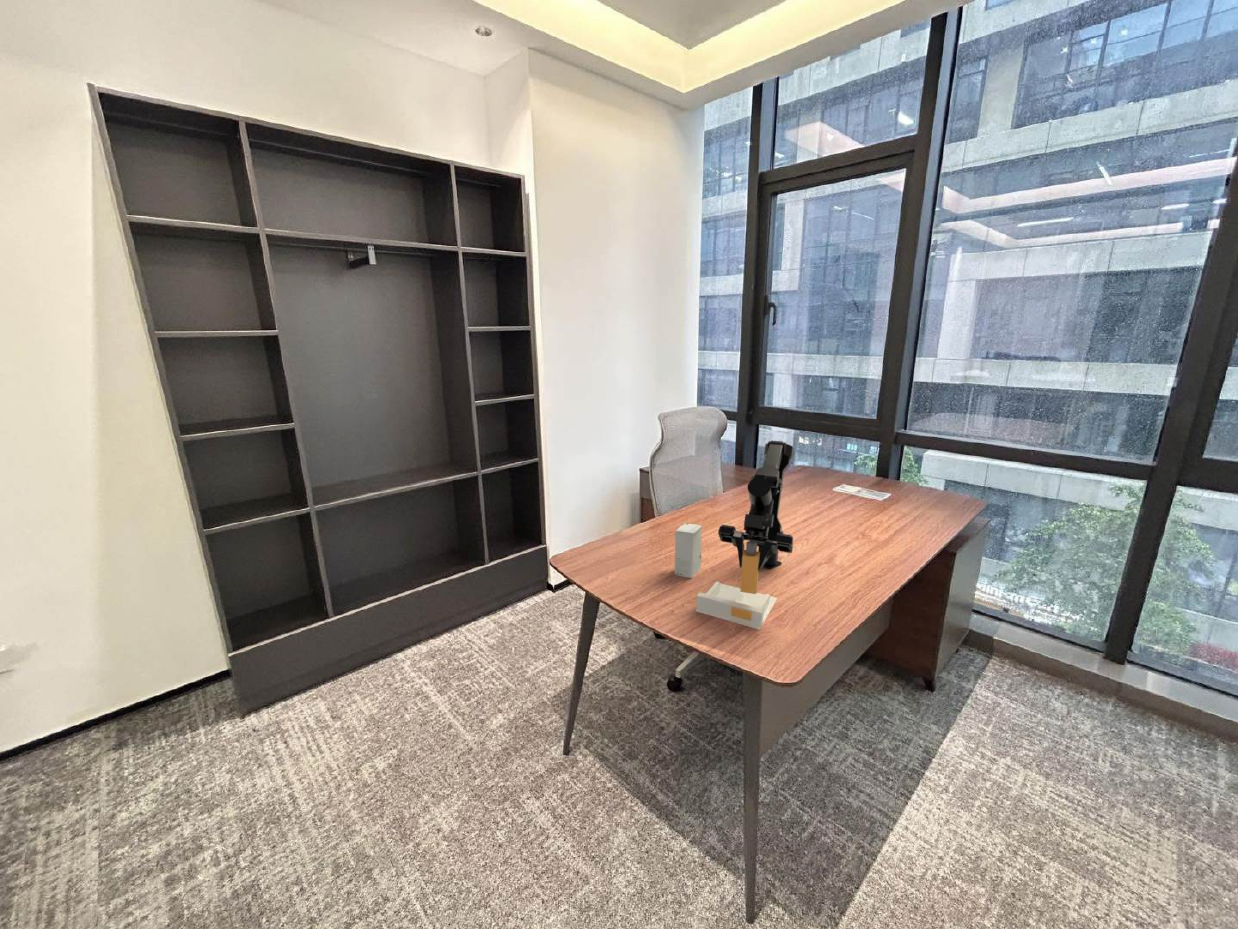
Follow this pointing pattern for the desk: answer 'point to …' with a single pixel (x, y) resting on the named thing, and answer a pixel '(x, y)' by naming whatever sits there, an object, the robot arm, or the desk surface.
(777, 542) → the robot arm
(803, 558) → the desk surface
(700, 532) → the skincare box
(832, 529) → the desk surface
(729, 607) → the white ribbed tray
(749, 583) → the orange plug
